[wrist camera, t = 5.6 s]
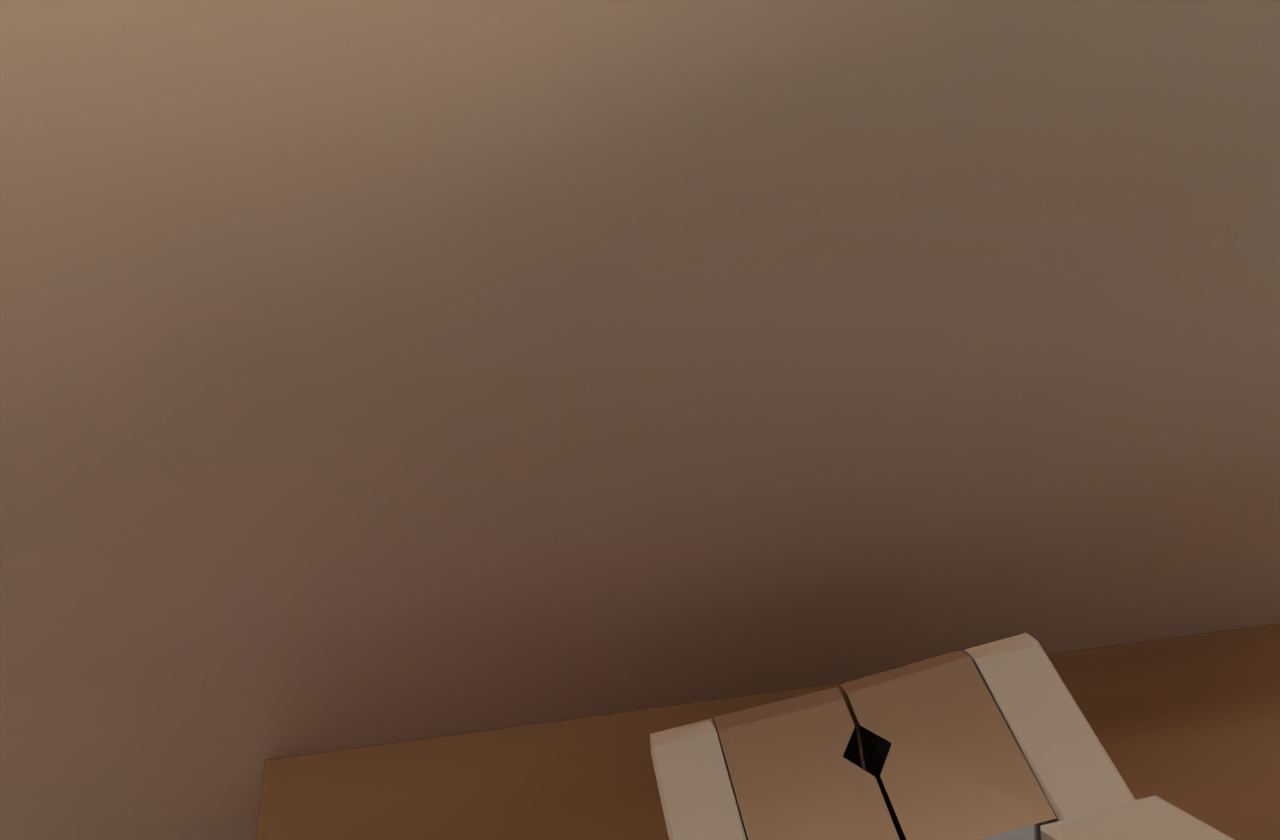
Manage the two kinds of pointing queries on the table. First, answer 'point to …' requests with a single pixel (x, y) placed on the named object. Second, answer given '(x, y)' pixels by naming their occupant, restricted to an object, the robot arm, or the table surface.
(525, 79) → the table surface
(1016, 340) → the table surface
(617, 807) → the walnut block
